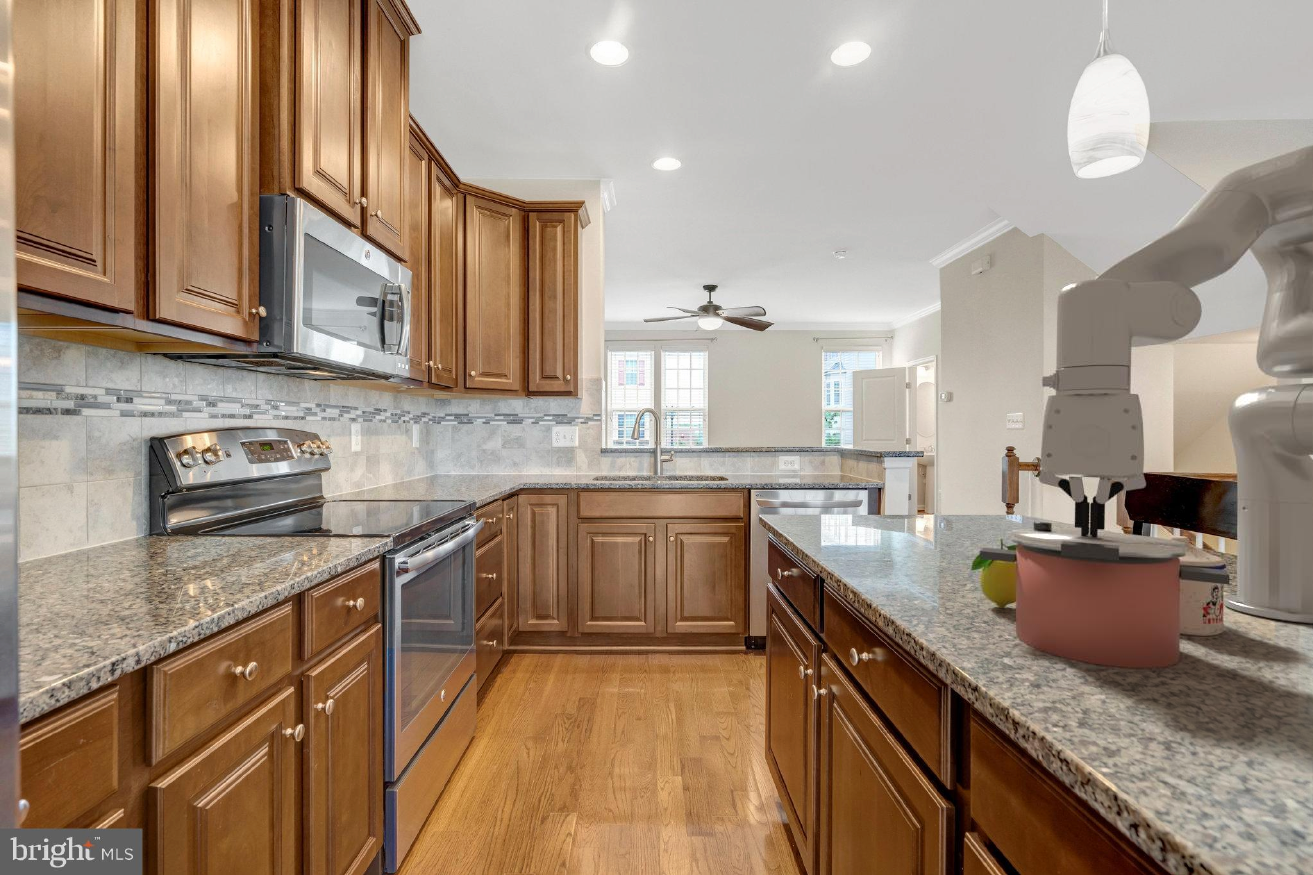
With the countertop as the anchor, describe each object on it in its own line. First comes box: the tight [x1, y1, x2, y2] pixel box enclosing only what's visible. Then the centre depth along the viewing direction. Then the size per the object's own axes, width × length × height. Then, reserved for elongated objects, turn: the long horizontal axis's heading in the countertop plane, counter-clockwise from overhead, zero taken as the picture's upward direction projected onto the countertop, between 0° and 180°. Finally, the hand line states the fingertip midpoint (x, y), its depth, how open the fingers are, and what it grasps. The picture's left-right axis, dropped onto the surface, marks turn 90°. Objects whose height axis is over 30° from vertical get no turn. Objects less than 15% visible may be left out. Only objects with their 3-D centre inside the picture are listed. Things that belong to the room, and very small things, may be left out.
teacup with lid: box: [1168, 535, 1227, 637], centre depth 83 cm, size 12×9×12 cm
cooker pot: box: [979, 543, 1230, 669], centre depth 76 cm, size 17×24×11 cm
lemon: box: [970, 538, 1017, 609], centre depth 91 cm, size 7×6×10 cm
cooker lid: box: [1011, 521, 1186, 561], centre depth 74 cm, size 21×17×2 cm
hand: (1089, 534), depth 77 cm, fingers closed
